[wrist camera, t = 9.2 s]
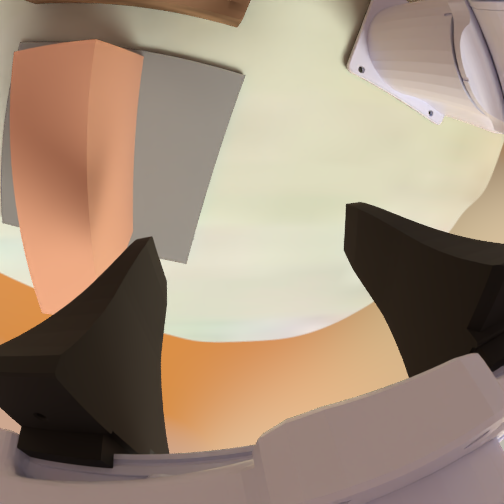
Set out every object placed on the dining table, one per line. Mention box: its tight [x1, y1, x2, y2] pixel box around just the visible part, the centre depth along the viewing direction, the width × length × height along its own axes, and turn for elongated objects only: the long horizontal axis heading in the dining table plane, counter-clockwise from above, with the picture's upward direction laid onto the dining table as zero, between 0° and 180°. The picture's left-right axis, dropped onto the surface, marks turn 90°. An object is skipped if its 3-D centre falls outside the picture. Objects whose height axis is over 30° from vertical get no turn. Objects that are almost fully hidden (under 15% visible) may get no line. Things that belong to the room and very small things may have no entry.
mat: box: [1, 42, 245, 264], centre depth 17 cm, size 16×14×1 cm
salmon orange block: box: [10, 39, 144, 315], centre depth 13 cm, size 4×12×9 cm, turn 170°
